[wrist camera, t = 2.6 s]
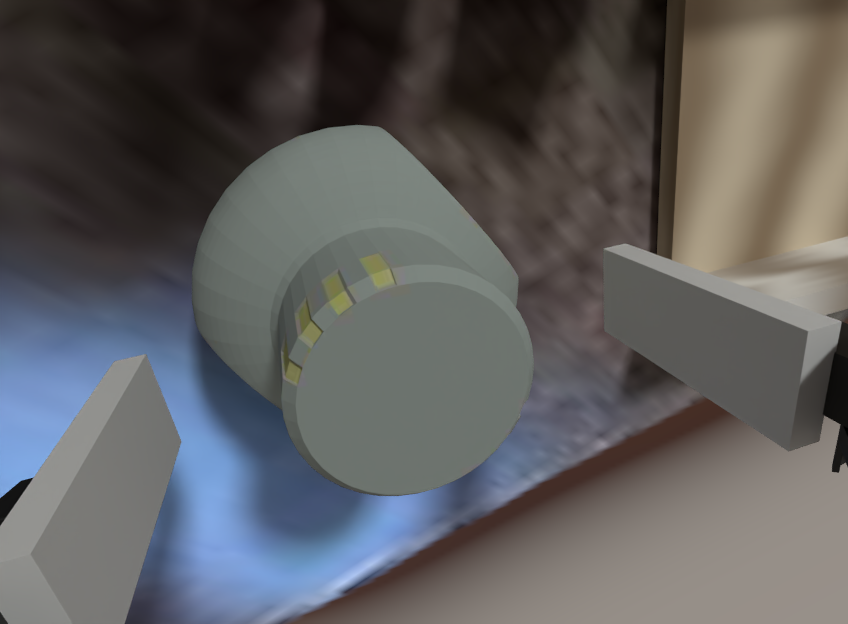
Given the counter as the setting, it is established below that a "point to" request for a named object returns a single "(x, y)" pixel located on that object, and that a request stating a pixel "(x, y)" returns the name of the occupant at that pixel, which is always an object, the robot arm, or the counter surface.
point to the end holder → (758, 146)
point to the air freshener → (365, 311)
